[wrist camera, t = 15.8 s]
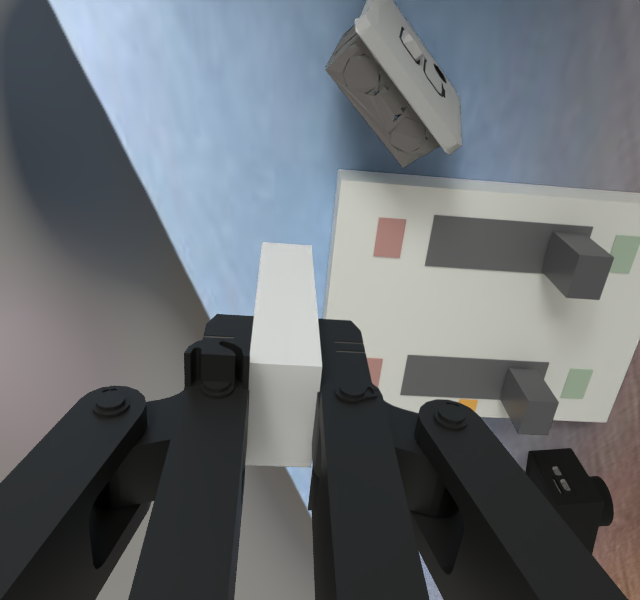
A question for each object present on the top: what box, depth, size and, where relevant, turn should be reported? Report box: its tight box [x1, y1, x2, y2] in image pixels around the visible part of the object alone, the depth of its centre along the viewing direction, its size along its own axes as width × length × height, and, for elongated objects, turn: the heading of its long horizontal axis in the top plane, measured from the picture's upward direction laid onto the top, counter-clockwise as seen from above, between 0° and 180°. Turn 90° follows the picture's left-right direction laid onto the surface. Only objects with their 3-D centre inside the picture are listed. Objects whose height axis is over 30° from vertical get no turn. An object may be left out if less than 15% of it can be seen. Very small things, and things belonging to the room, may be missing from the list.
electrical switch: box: [325, 0, 462, 168], centre depth 36 cm, size 9×5×9 cm, turn 40°
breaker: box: [542, 232, 614, 300], centre depth 41 cm, size 3×2×4 cm
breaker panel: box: [322, 169, 640, 423], centre depth 47 cm, size 20×26×3 cm
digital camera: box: [526, 448, 614, 555], centre depth 56 cm, size 10×5×7 cm, turn 3°
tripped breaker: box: [500, 368, 559, 435], centre depth 47 cm, size 3×2×4 cm
